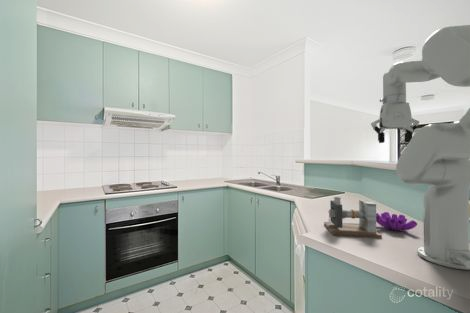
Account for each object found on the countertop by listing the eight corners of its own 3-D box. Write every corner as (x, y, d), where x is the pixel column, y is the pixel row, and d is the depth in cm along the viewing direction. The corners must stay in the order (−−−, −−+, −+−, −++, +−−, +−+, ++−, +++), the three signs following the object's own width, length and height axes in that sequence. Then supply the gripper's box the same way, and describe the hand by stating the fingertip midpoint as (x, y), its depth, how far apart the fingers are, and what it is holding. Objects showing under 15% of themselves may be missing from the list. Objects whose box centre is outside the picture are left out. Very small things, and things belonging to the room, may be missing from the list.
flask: (326, 215, 111) (326, 196, 111) (337, 214, 113) (337, 195, 113) (337, 219, 104) (336, 199, 104) (348, 218, 106) (348, 198, 106)
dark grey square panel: (342, 227, 83) (342, 205, 84) (337, 227, 84) (336, 204, 84) (335, 221, 92) (335, 200, 92) (330, 220, 93) (330, 200, 93)
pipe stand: (381, 238, 79) (381, 205, 79) (333, 235, 82) (333, 204, 82) (365, 226, 93) (364, 198, 93) (324, 224, 95) (324, 197, 96)
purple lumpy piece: (394, 242, 83) (377, 221, 85) (382, 230, 98) (367, 212, 100) (422, 227, 80) (404, 206, 82) (405, 217, 95) (390, 199, 97)
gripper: (375, 99, 85) (375, 142, 84) (424, 97, 81) (425, 141, 81) (367, 104, 92) (367, 143, 92) (412, 102, 89) (412, 142, 89)
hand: (394, 142), depth 87 cm, fingers open, 9 cm apart
